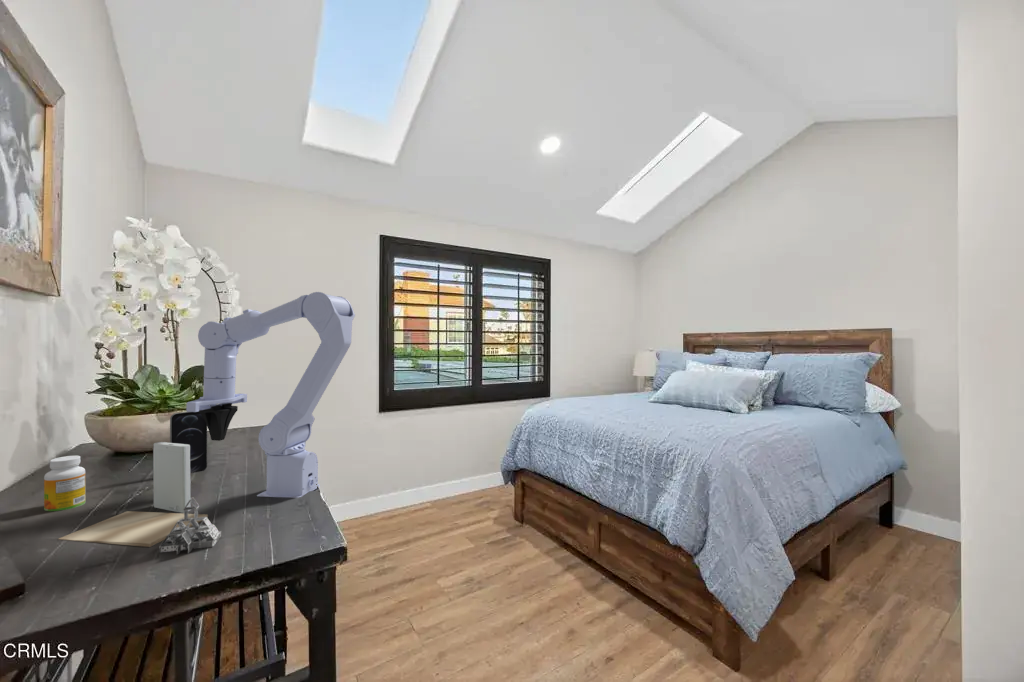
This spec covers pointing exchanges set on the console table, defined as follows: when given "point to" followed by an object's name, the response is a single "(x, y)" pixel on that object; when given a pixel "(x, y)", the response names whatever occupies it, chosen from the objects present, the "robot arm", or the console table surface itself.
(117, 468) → the console table surface
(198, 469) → the smartphone
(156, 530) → the birch board
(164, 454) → the external hard drive
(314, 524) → the console table surface
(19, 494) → the console table surface
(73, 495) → the supplement bottle
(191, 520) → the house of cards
